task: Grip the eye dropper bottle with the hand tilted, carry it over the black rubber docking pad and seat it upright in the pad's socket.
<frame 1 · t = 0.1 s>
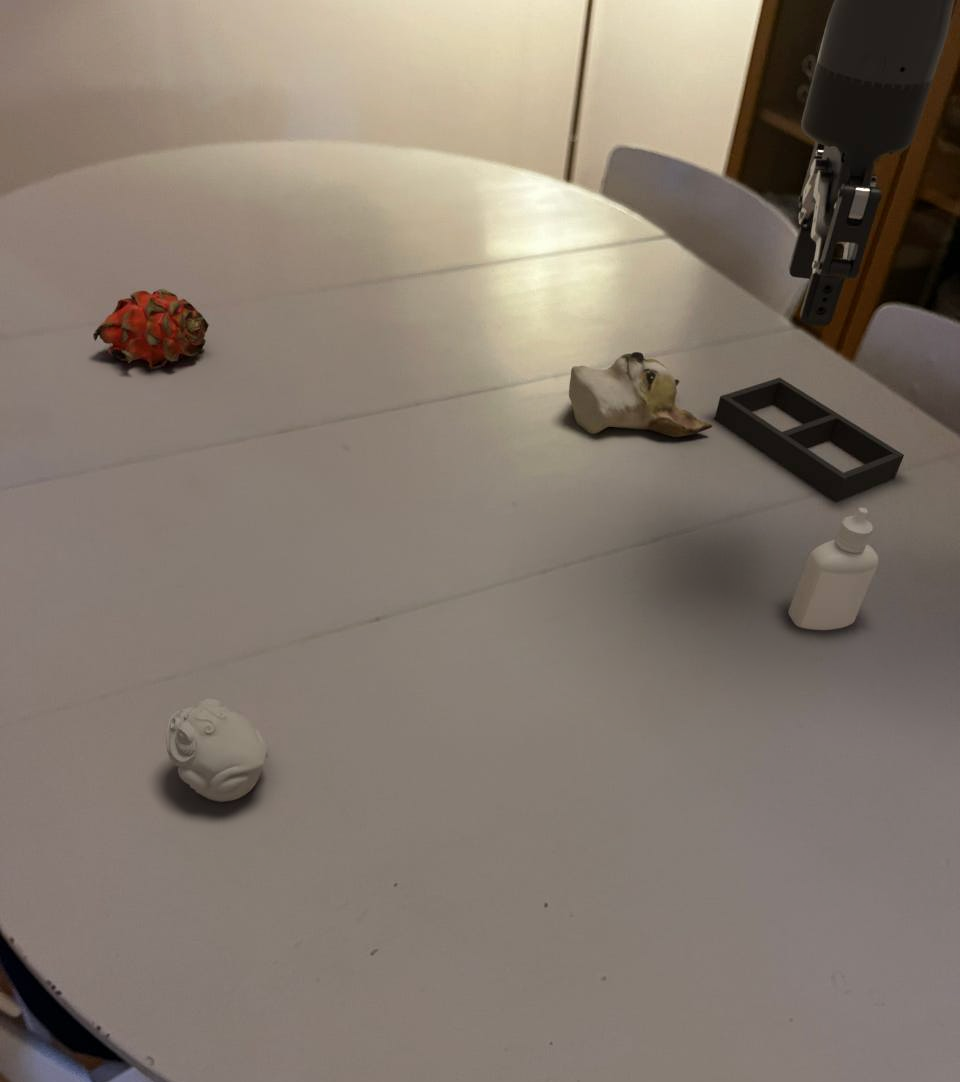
hand: (807, 298, 80), 25 cm above the table, tool pointing down, fingers open, 8 cm apart
dock: (800, 454, 112), on the table
eye dropper bottle: (817, 624, 91), on the table
dragon fruit: (156, 364, 115), on the table
frog figurine: (224, 788, 73), on the table
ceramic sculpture: (627, 426, 113), on the table
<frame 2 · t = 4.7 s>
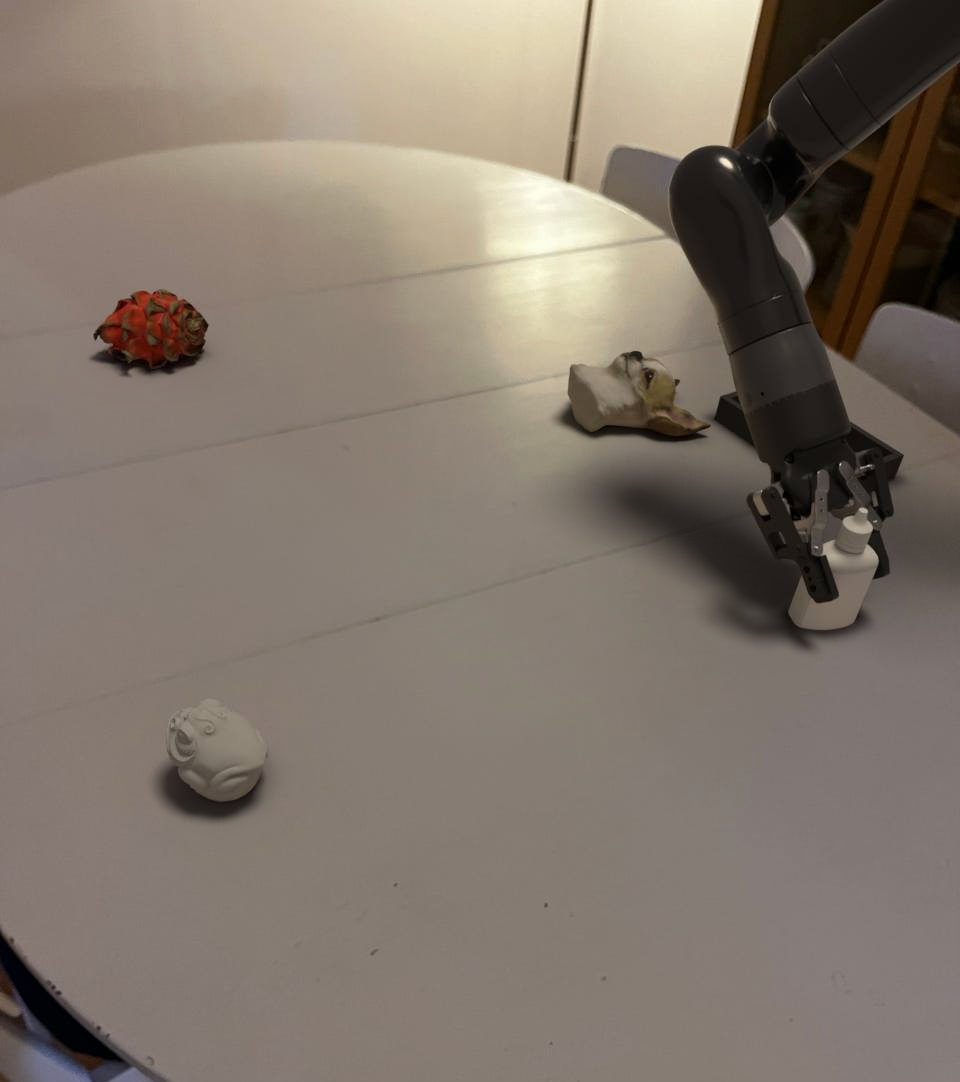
hand: (853, 588, 87), 5 cm above the table, tool tilted 45°, fingers closed on eye dropper bottle, 5 cm apart
eye dropper bottle: (817, 624, 91), on the table, touching gripper
everything else where it was.
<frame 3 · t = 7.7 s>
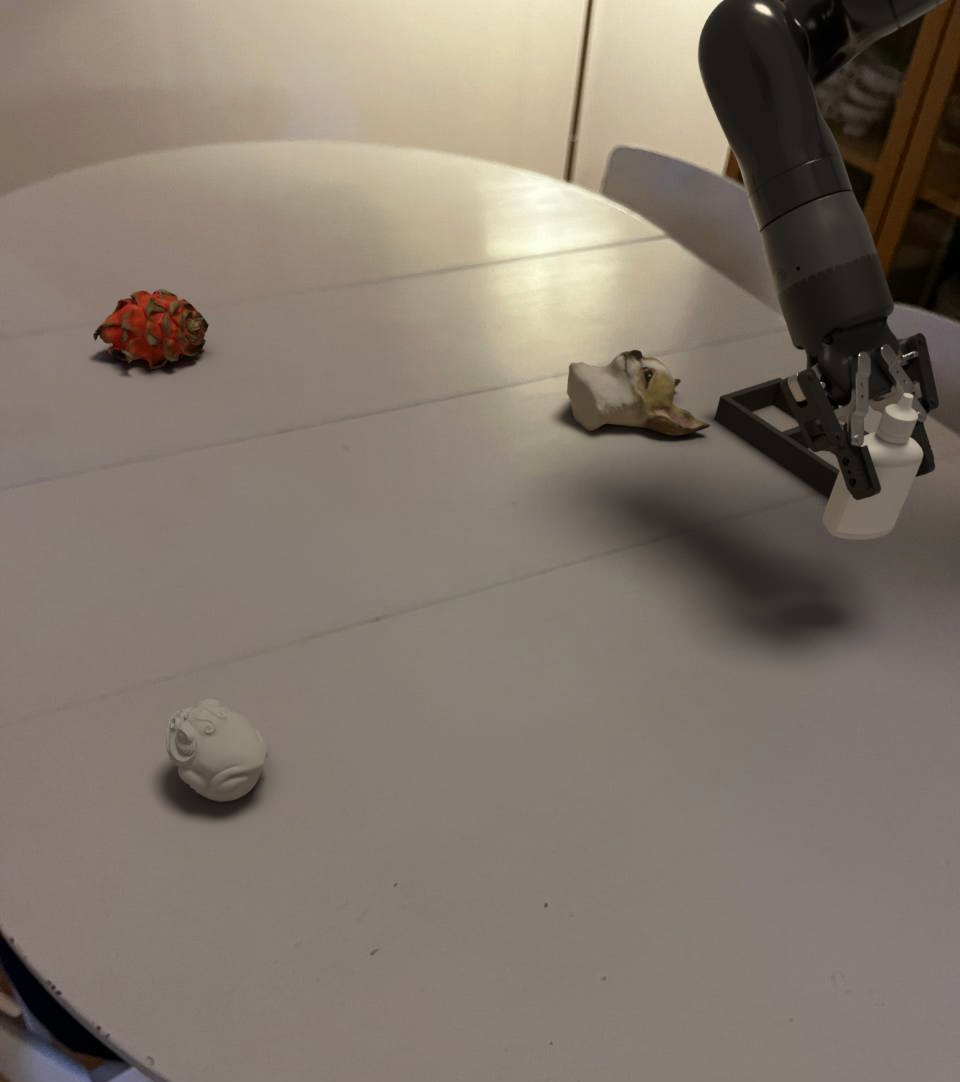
hand: (895, 484, 80), 15 cm above the table, tool tilted 45°, fingers closed on eye dropper bottle, 5 cm apart
eye dropper bottle: (855, 529, 85), point 10 cm above the table, touching gripper
everything else where it was.
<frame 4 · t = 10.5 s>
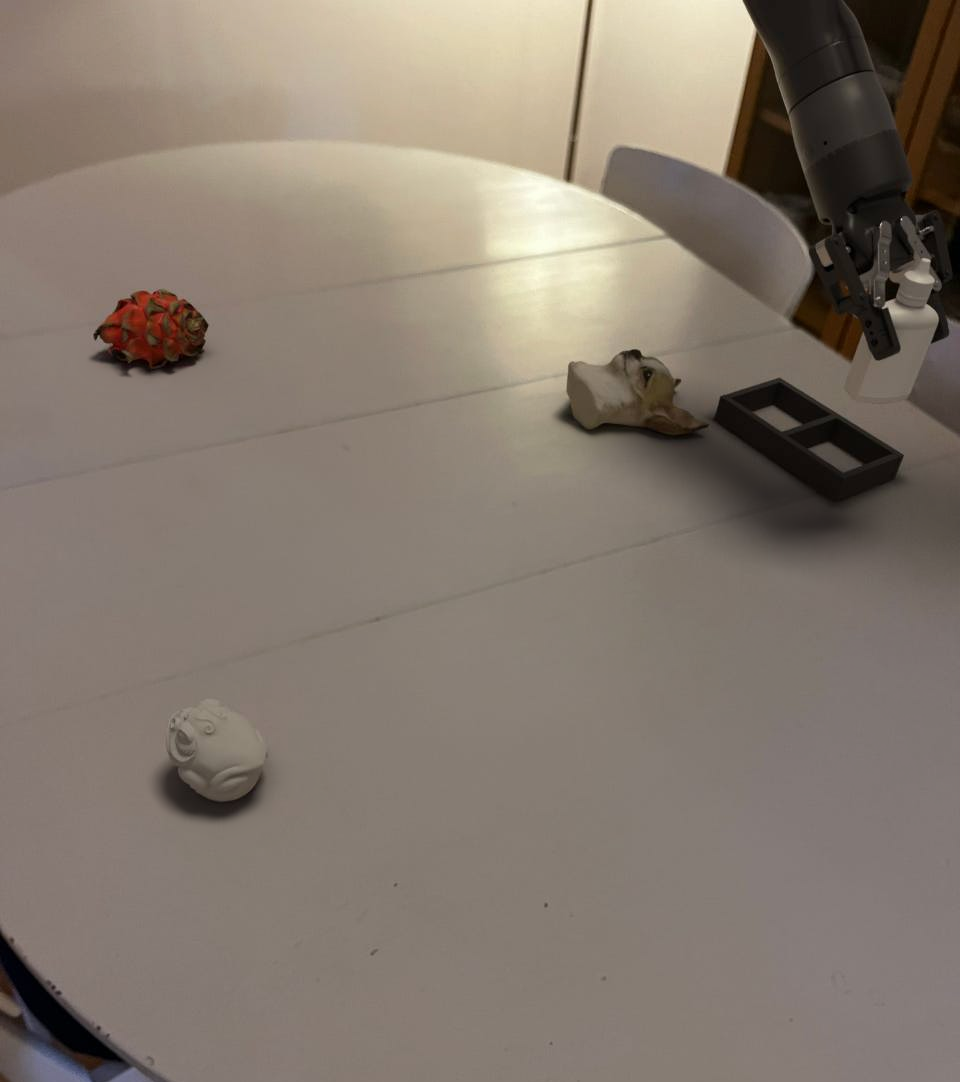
hand: (913, 348, 87), 20 cm above the table, tool tilted 45°, fingers closed on eye dropper bottle, 5 cm apart
eye dropper bottle: (874, 396, 92), point 15 cm above the table, touching gripper
everything else where it was.
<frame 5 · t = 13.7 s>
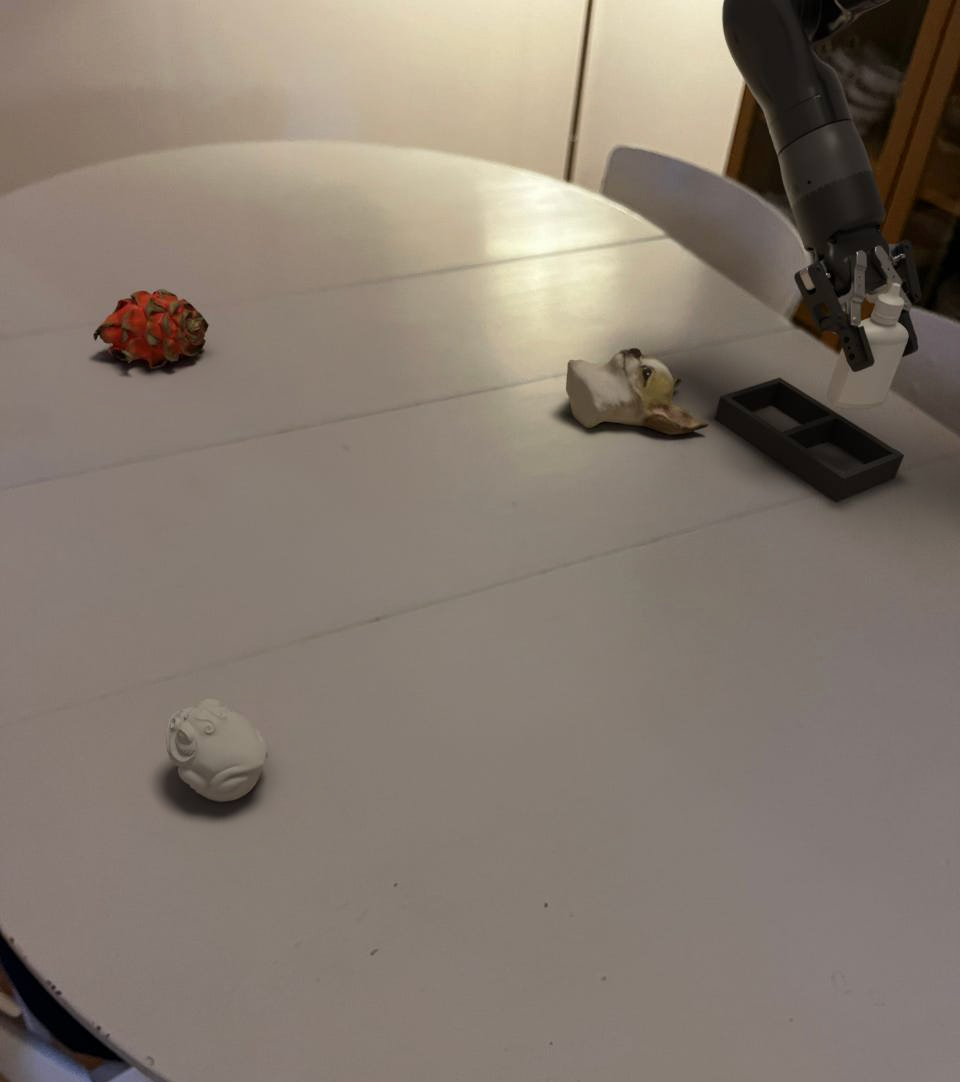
hand: (886, 361, 99), 14 cm above the table, tool tilted 45°, fingers closed on eye dropper bottle, 5 cm apart
eye dropper bottle: (853, 403, 104), point 8 cm above the table, touching gripper
everything else where it was.
when the fingers open (6 cm above the table, at t = 16.3 s): eye dropper bottle stays where it is, resting on dock.
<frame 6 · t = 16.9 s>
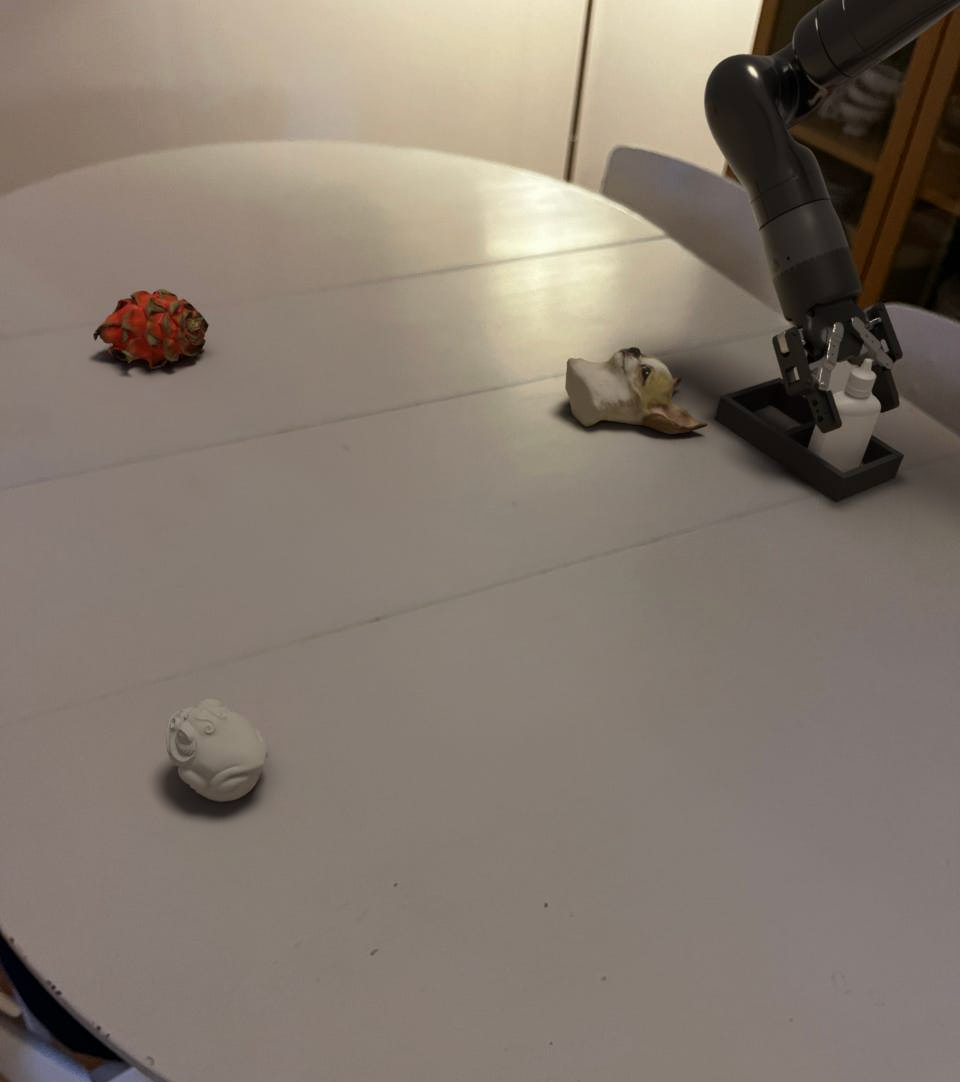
hand: (861, 420, 104), 7 cm above the table, tool tilted 45°, fingers open, 8 cm apart
eye dropper bottle: (829, 468, 109), point 1 cm above the table, touching dock
everything else where it was.
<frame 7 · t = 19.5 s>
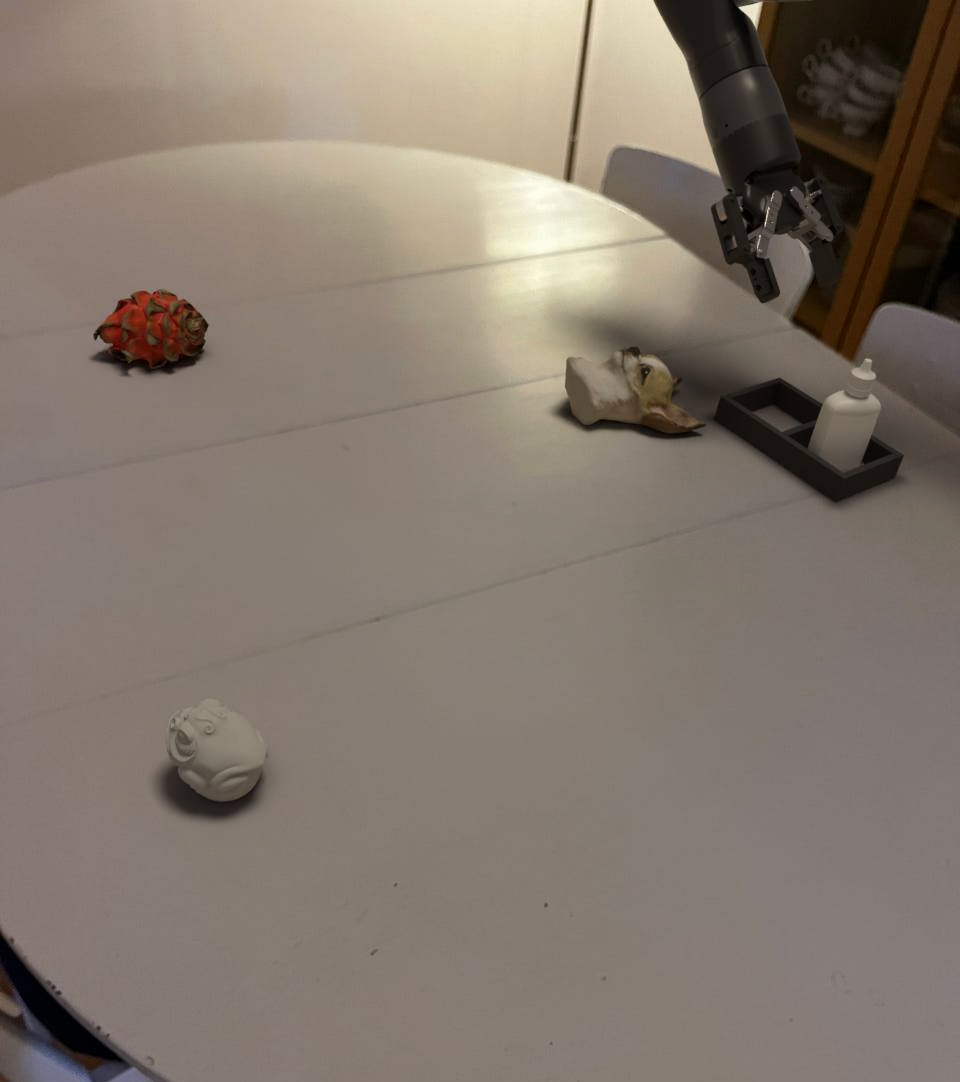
hand: (801, 291, 104), 16 cm above the table, tool tilted 45°, fingers open, 8 cm apart
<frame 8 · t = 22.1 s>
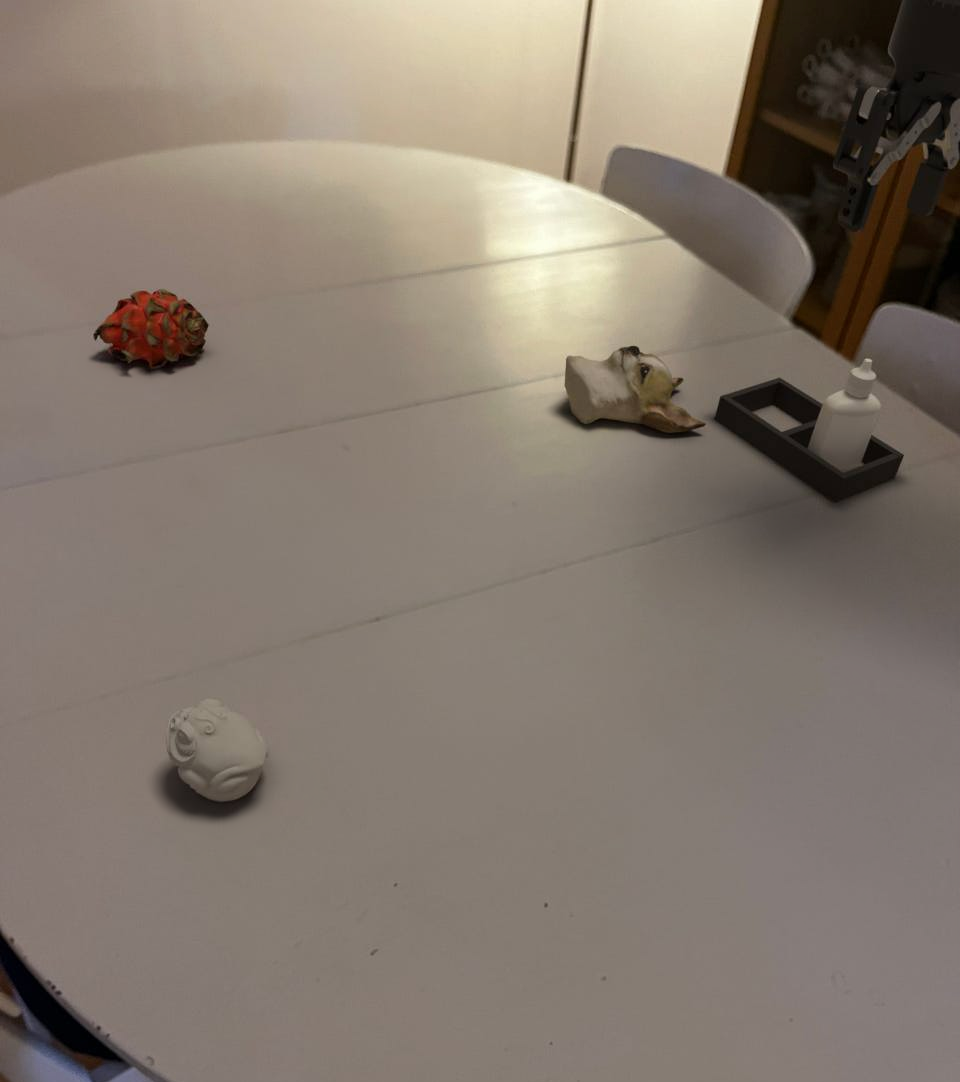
hand: (884, 220, 85), 28 cm above the table, tool pointing down, fingers open, 8 cm apart
at the end: eye dropper bottle 0.1 cm from the target spot in the dock, point 0.6 cm above the dock's base; eye dropper bottle tilted 0°; the gripper is holding nothing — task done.
